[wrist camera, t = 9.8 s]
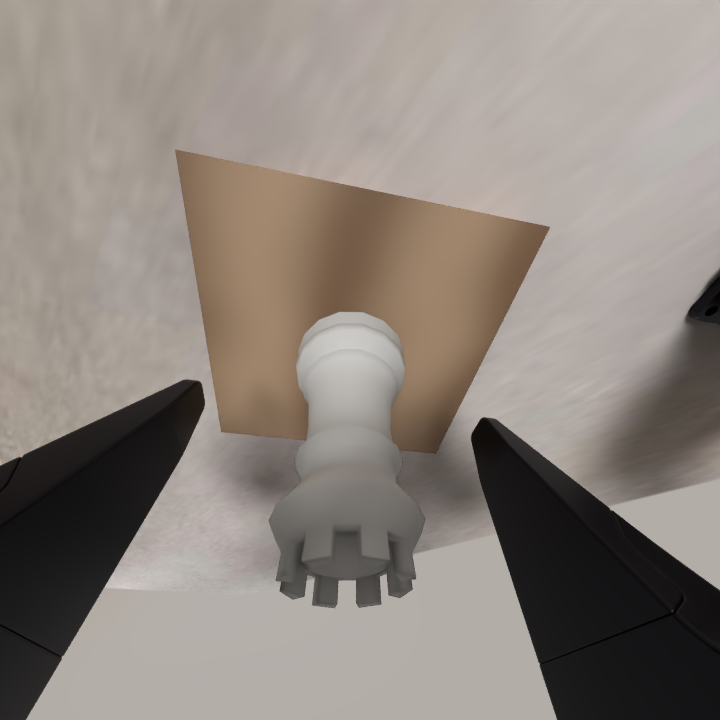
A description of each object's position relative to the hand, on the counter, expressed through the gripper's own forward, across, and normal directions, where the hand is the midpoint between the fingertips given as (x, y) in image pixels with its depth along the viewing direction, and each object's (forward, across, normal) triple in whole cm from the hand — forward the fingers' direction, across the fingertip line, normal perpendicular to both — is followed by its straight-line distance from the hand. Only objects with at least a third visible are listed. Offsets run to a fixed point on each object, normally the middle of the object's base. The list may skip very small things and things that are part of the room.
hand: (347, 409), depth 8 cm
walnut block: (+6, 0, 0) cm, 6 cm away
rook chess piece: (+4, 0, 0) cm, 4 cm away
